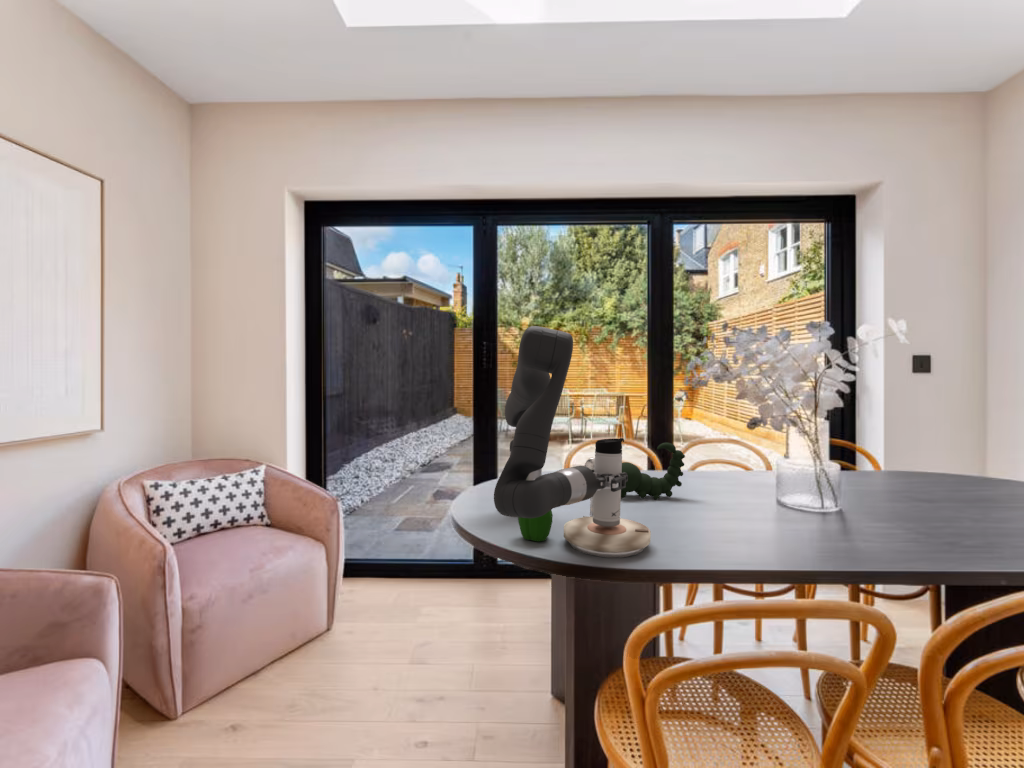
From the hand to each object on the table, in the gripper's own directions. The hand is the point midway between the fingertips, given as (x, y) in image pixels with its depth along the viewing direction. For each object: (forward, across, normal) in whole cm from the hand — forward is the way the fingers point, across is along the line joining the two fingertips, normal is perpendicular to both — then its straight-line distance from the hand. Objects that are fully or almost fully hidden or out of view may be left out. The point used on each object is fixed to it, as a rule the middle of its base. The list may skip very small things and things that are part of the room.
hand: (613, 474), depth 128 cm
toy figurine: (+44, +16, +16) cm, 50 cm away
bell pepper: (-11, +15, +16) cm, 25 cm away
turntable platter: (-2, 0, +14) cm, 15 cm away
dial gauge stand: (+8, +10, +16) cm, 21 cm away
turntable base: (-2, 0, +16) cm, 16 cm away
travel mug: (-2, 0, +11) cm, 11 cm away
